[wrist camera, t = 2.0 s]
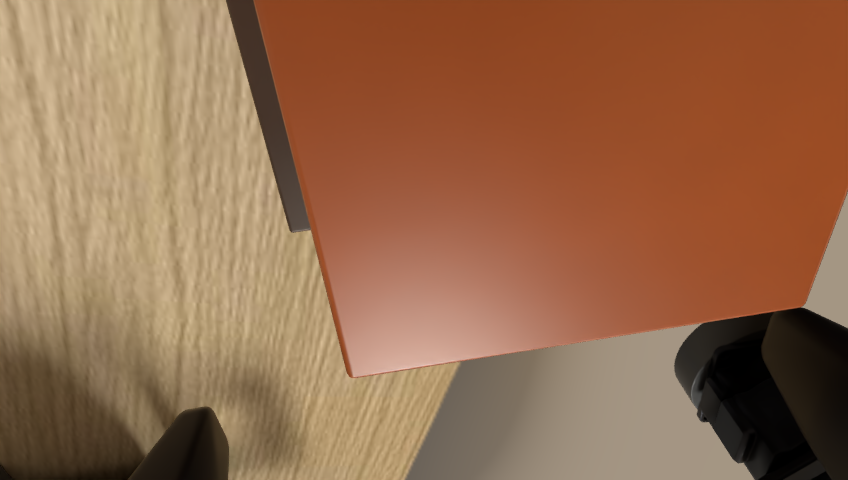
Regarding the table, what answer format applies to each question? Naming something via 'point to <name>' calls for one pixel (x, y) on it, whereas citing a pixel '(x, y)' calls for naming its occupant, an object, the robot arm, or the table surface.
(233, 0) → the stand
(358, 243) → the block
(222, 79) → the table surface
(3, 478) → the drawer cabinet
